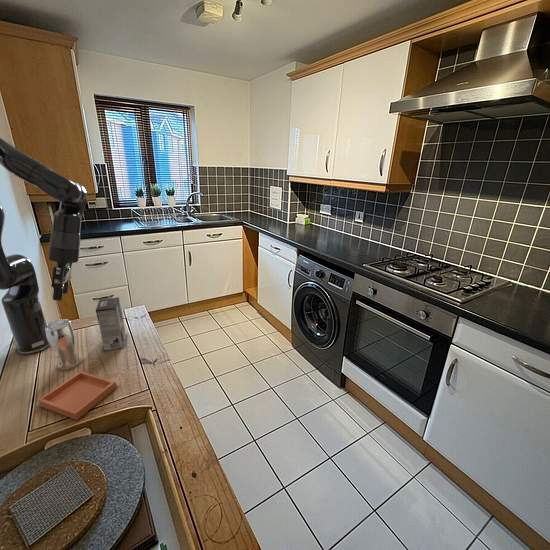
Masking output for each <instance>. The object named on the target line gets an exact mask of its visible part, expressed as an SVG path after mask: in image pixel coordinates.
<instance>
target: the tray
mask: <svg viewBox="0 0 550 550" xmlns="http://www.w3.org/2000/svg"><path fill="white" fill-rule="evenodd" d="M117 388H118V386H117V381H115V380H112V379H108V378H106V377H102V376H98V375H95V374H93V373H89V372H85V371H83V370H80V371H79V372H77V373H76V374H74V375H73V376H71V377H70V378H68V379H67V380H65V381H64V382H62V383H61V384H60V385H58V386H56V387H55V388H53V389H52V390H50V391H49V392H48V393H46V394H44V395H43V396H42V397H40V398H38V399H37V402H38V405H39V407H41V408H43V409H47V410H48V411H52V412H54V413H57V414H59V415H62V416H65V417H68V418H71V419H73V420H76V421H78V420H79V419H80V418H82V417H83V416H84V415H86V413H88V412H89V411H90V410H91V409H92V408H93V407H95V406H96V405H97V404H98V403H100V402H101V401H102V400H103V399H105V398H107V396H108V395H110V393H112V392H114V391H115V389H117Z"/></svg>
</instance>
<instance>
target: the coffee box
mask: <svg viewBox="0 0 550 550" xmlns="http://www.w3.org/2000/svg"><path fill="white" fill-rule="evenodd" d="M95 313H96V317H97V322H98V327H99V331H100V336H101V340H102V345H103V349H104V351H111V350H115V349H116V350H117V349H122V348H124V347H125V343H126V337H127V331H126V326H125V321H124V315H123V311H122V307H121V302H120V296H119V297H118V296H117V297H107V298H100V299H98V303H97V306H96V308H95Z"/></svg>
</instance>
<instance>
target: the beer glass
mask: <svg viewBox="0 0 550 550" xmlns="http://www.w3.org/2000/svg"><path fill="white" fill-rule="evenodd" d="M44 328H45V333H46V338H47V341H48V344H49V348H50V350H51V351H52V353H53V354H54V356H55V360H56V368H57V370H59V371H68V370H72V369H74V368H75V367H77V366H78V365H79V364H80V363H81V361H80V360H81V359H80V358H79V356H78V354H77V351H76V334H75V331H74V328H73V325H72V323H71V320H70V319H68V318H61V319H55V320H52V321H49V322H48V323H46V325H45V327H44Z"/></svg>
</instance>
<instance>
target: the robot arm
mask: <svg viewBox="0 0 550 550" xmlns="http://www.w3.org/2000/svg"><path fill="white" fill-rule="evenodd" d="M0 165H1V166H2V167H3V168H4V169H5V170H6V171H8V173H10V174H12V175H13V176H15V177H17V178H19V179H20V180H22V181H24V182H26V183H28V184H29V185H31V186H33V187H36V188H37V189H39V190H40V191H42V192H43V193H44V194H46V195H48V196H50V198H53V199H54V200H56V201H58V202H59V208H58V210H56V211H55V212H54V214H53V218H52V227H51V228H52V229H51V234H50V238H49V248H48V249H49V252H48V260H49V261H51V262H56V266H53V268H52V278H51V288H52V289H53V294H52V300H53V301H62V300H63V295H66V294H68V292H69V283H70V282H71V279H72V269H73V268H72V267H73V264H75V263H78V262H79V258H80V248H81V227H82V219H83V215H84V211H85V209H86V205H87V200H88V196H87V191H86V189H85V187H84V186H83V185H82V184H80V183H78V182H77V181H74V180H71V179H68V178H67V177H65V176H63V175H61V174H60V173H58V172H56V171H54V170H53V169H52V168H51V167H49V166H48V165H46V164H45V163H43V162H41V161H39V160H37V159H36V158H34V157H32V156H31V155H29V154H27V153H25V152H23V151H22V150H20V149H18V148H17V147H15V146H14V145H12V144H11V143H9V142H7V141H6V140H4V139H3V138H1V137H0ZM5 218H6V217H5V210H4V208H3V205H2V202H0V290H1V291H4V290H7V291H6V292H5V294H4V295H3V296H2V297H1V304H2V308H3V311H4V313H5V316H6V319H7V322H8V324H9V325H8V326H9V329H10V330H11V333H12V337H13V340H14V343H15V346H16V348H17V352H18V354H20V355H31V354H36V353H38V352H41V351H44V350H45V349H47V348H48V347H49V348H50V346H49V344H48V341H47V338H46V333H45V328H44V327H45V325H46V324H47V323H46V319H45V315H44V312H43V309H42V305H41V301H40V298H39V293H40V287H39V282H38V277H37V273H36V269H35V267H34V265H33V263H32V261H31V260H30V259H29V258H27V256H25V255H22V254H17V253H16V254H10V255H7V256H6V254H5V251H4V247H3V242H2V238H3V230H4V227H5Z"/></svg>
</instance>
